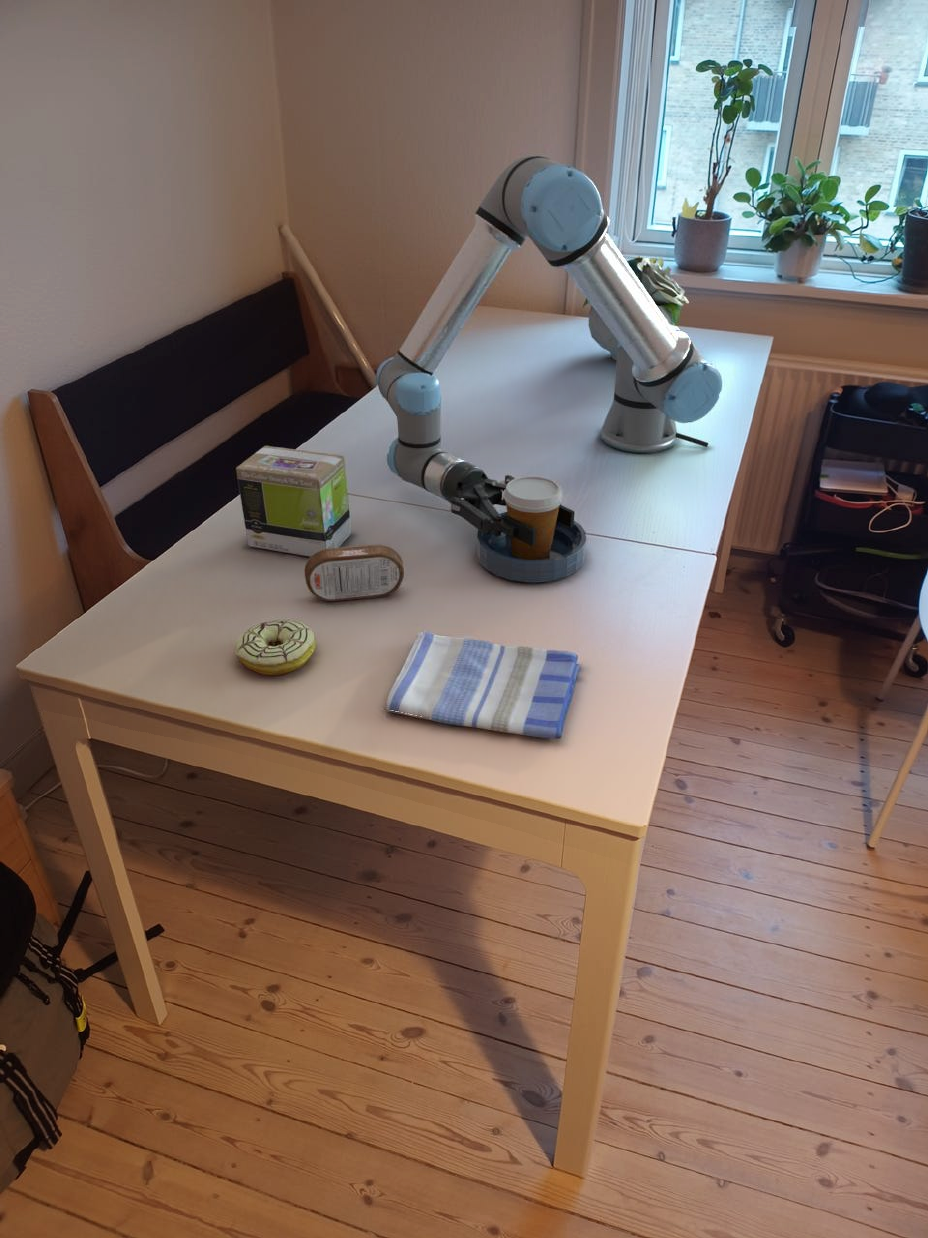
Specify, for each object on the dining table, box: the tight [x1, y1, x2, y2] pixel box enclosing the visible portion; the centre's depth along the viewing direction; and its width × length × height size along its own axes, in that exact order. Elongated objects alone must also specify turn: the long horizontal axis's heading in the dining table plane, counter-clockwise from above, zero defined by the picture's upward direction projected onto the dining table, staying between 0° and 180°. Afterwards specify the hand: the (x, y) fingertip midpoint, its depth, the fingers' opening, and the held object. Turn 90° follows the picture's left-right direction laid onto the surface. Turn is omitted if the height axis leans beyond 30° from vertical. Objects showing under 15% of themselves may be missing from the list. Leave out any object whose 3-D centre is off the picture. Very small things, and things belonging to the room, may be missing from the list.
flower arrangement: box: [581, 255, 690, 362], centre depth 229 cm, size 25×25×24 cm
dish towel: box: [385, 630, 581, 740], centre depth 125 cm, size 17×24×3 cm
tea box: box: [235, 445, 352, 558], centre depth 155 cm, size 15×10×15 cm
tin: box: [303, 544, 405, 602], centre depth 143 cm, size 15×3×8 cm, turn 100°
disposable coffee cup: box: [502, 475, 564, 560], centre depth 151 cm, size 10×10×12 cm
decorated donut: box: [234, 619, 316, 676], centre depth 131 cm, size 10×11×4 cm
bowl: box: [476, 511, 587, 583], centre depth 154 cm, size 18×18×4 cm
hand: (553, 528), depth 148 cm, fingers closed on disposable coffee cup, 8 cm apart
